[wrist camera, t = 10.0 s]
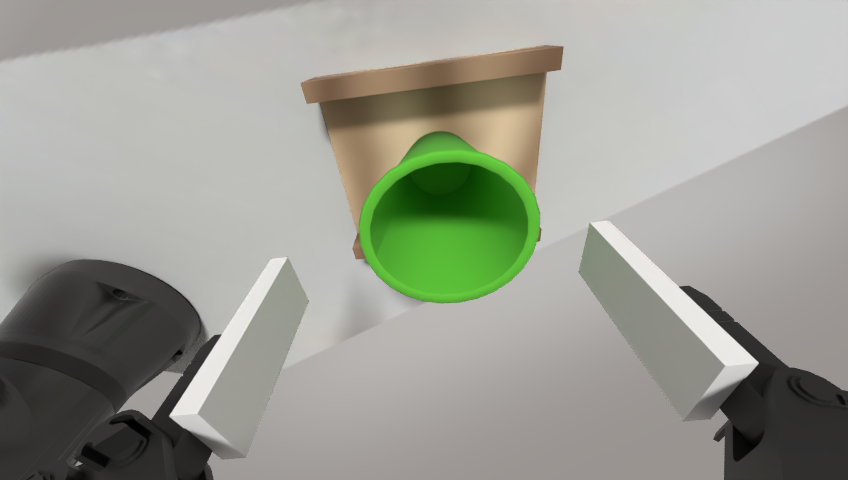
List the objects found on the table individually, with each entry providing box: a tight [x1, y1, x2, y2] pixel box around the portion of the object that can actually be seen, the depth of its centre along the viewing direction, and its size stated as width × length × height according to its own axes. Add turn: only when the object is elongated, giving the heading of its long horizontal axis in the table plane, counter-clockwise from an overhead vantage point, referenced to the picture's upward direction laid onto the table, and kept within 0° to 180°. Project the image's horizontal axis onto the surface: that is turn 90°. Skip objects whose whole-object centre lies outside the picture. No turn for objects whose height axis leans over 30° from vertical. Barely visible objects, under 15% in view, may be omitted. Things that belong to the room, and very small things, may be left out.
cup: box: [358, 131, 540, 303], centre depth 19 cm, size 9×9×11 cm
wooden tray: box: [301, 45, 563, 259], centre depth 23 cm, size 16×14×3 cm
